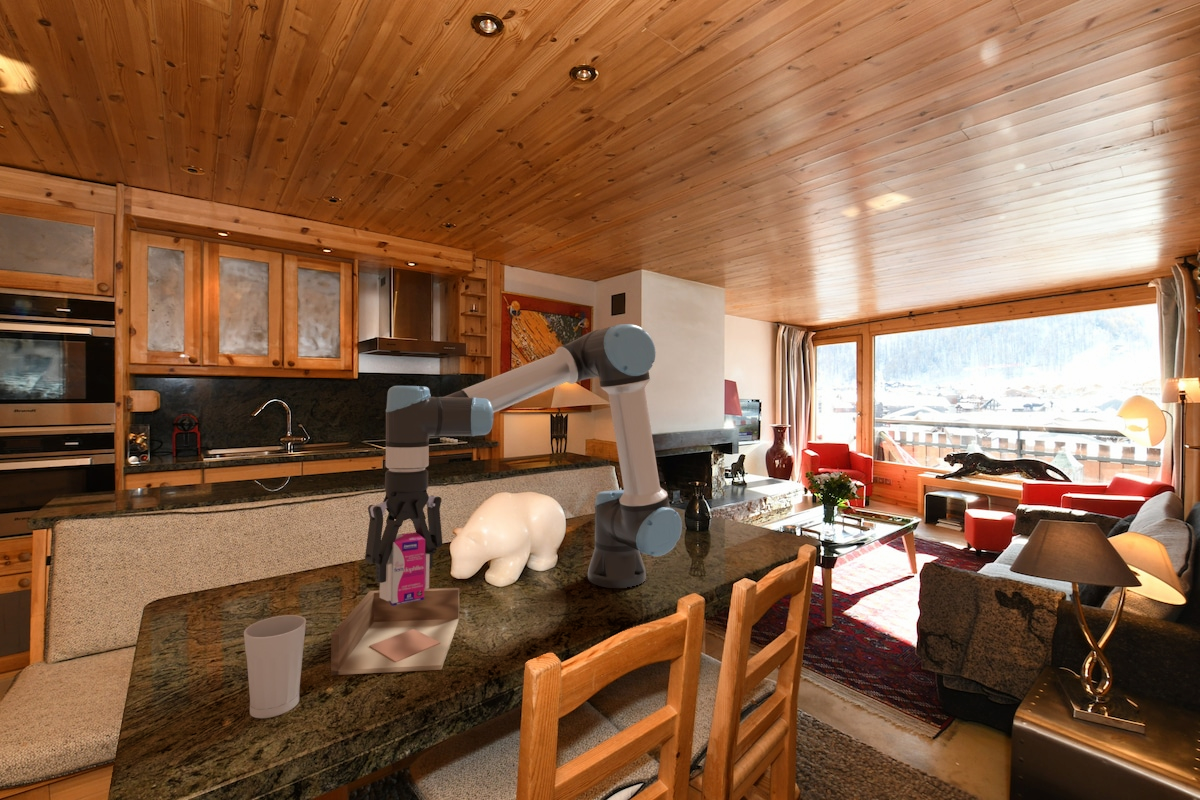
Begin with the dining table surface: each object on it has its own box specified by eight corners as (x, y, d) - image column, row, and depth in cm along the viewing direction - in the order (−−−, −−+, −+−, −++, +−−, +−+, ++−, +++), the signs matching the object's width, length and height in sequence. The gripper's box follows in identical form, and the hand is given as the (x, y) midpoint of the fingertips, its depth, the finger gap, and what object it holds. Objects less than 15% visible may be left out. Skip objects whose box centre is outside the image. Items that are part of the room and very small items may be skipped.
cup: (228, 718, 74) (229, 635, 74) (272, 688, 82) (273, 613, 82) (277, 724, 73) (278, 640, 73) (317, 693, 81) (318, 616, 81)
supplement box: (392, 607, 91) (392, 542, 91) (385, 596, 96) (385, 535, 96) (425, 600, 94) (425, 538, 94) (416, 590, 99) (417, 531, 99)
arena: (459, 620, 108) (459, 587, 108) (441, 669, 88) (441, 630, 88) (369, 623, 106) (369, 590, 106) (330, 675, 86) (331, 634, 86)
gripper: (441, 462, 106) (439, 574, 105) (343, 472, 90) (341, 603, 90) (463, 466, 101) (461, 583, 101) (365, 476, 85) (362, 615, 85)
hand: (404, 592), depth 95 cm, fingers closed on supplement box, 7 cm apart
